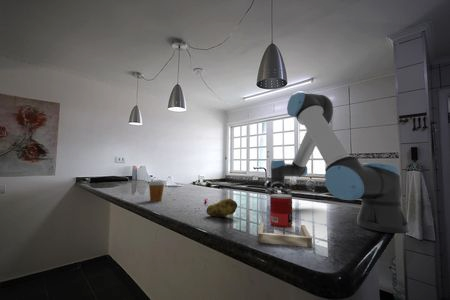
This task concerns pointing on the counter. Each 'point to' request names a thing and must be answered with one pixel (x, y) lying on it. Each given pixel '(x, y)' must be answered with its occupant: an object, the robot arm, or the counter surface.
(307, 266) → the counter surface
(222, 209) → the potato
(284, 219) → the canned food
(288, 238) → the shallow beige tray
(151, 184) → the disposable coffee cup
